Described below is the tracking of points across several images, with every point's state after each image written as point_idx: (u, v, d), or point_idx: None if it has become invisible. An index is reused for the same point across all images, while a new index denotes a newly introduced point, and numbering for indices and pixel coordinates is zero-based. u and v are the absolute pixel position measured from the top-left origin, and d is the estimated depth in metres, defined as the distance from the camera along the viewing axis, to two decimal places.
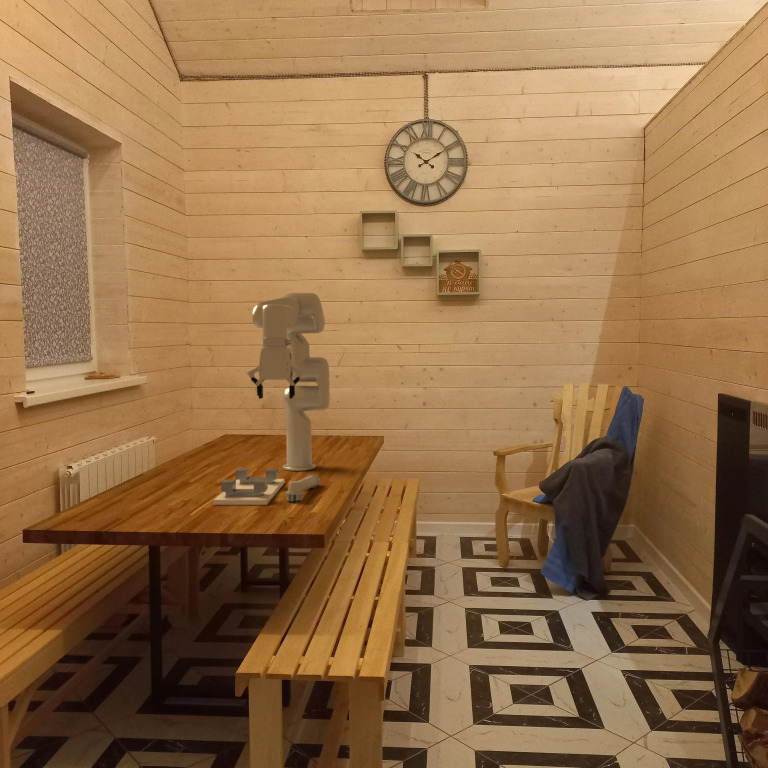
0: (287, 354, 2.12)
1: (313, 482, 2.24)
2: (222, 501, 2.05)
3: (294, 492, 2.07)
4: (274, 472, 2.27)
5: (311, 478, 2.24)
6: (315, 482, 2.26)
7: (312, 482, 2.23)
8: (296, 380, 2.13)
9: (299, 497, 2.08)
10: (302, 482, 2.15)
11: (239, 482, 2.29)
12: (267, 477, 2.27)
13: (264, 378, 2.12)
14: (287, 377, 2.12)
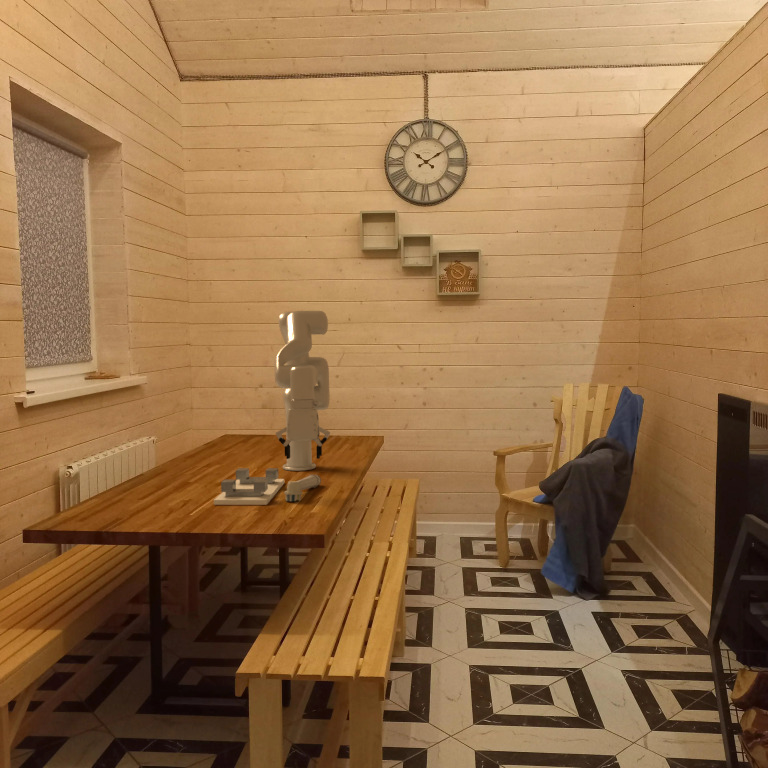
0: (314, 415, 2.16)
1: (313, 482, 2.24)
2: (222, 501, 2.05)
3: (292, 492, 2.08)
4: (274, 472, 2.27)
5: (311, 478, 2.24)
6: (315, 482, 2.26)
7: (312, 482, 2.23)
8: (323, 440, 2.17)
9: (298, 497, 2.08)
10: (301, 482, 2.15)
11: (239, 482, 2.29)
12: (267, 477, 2.27)
13: (292, 439, 2.16)
14: (314, 438, 2.16)
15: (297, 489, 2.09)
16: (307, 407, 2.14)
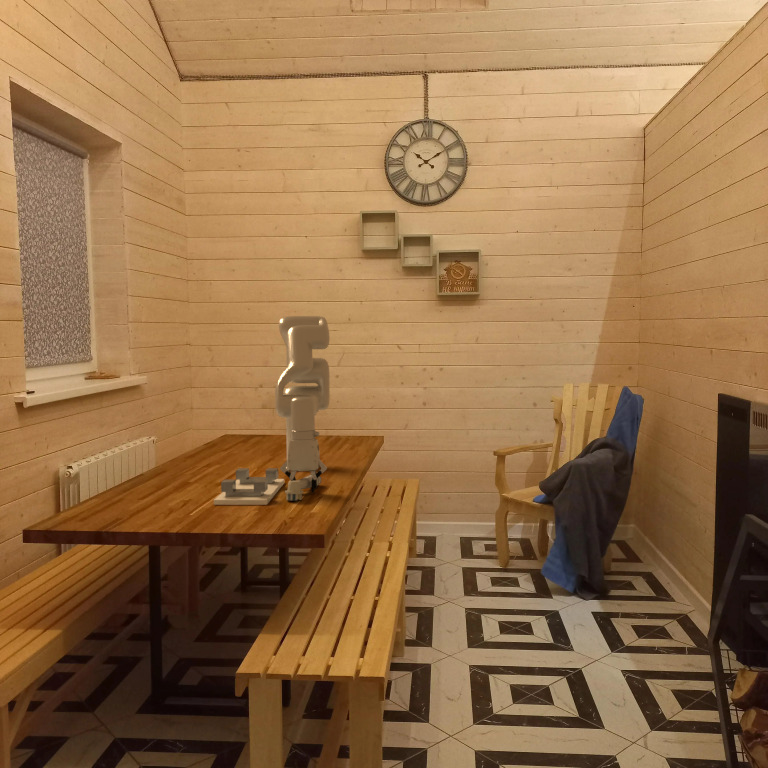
0: (315, 446, 2.16)
1: None
2: (222, 501, 2.05)
3: (293, 491, 2.07)
4: (274, 472, 2.27)
5: (312, 477, 2.24)
6: None
7: None
8: (318, 474, 2.18)
9: (298, 496, 2.08)
10: (302, 481, 2.15)
11: (239, 482, 2.29)
12: (267, 477, 2.27)
13: (292, 469, 2.17)
14: (315, 468, 2.17)
15: (298, 488, 2.09)
16: (307, 438, 2.15)
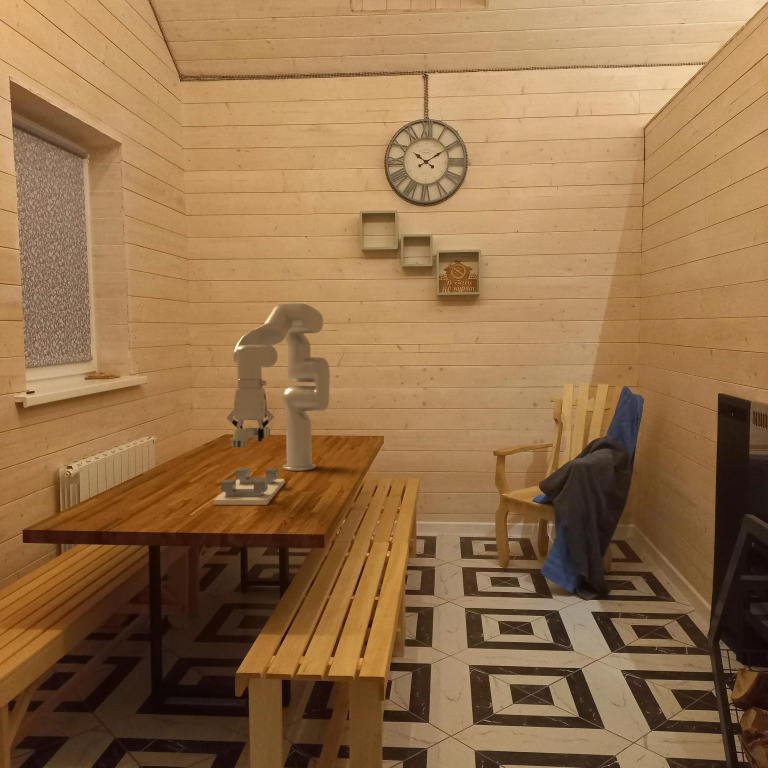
0: (261, 395, 2.16)
1: None
2: (222, 501, 2.05)
3: (238, 438, 2.07)
4: (274, 472, 2.27)
5: None
6: (264, 432, 2.25)
7: None
8: (265, 423, 2.18)
9: (244, 443, 2.08)
10: (248, 430, 2.14)
11: (239, 482, 2.29)
12: (267, 477, 2.27)
13: (239, 418, 2.17)
14: (261, 417, 2.16)
15: (243, 435, 2.08)
16: (254, 387, 2.15)
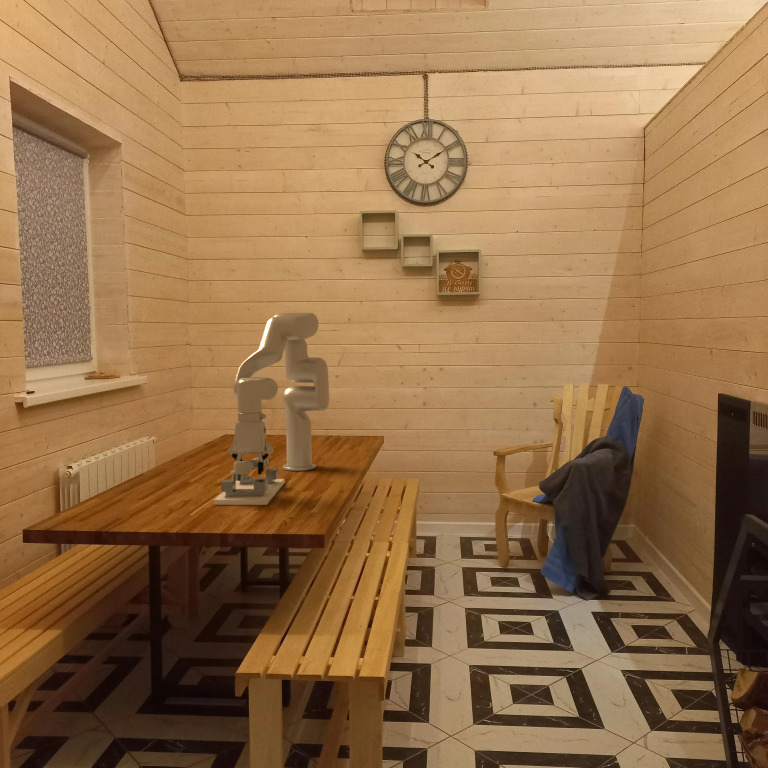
0: (261, 428, 2.16)
1: None
2: (222, 501, 2.05)
3: (239, 472, 2.08)
4: (274, 472, 2.27)
5: None
6: None
7: None
8: (265, 456, 2.18)
9: (244, 477, 2.08)
10: (248, 462, 2.15)
11: (239, 482, 2.29)
12: (267, 477, 2.27)
13: (239, 451, 2.17)
14: (261, 451, 2.17)
15: (243, 469, 2.09)
16: (253, 420, 2.15)
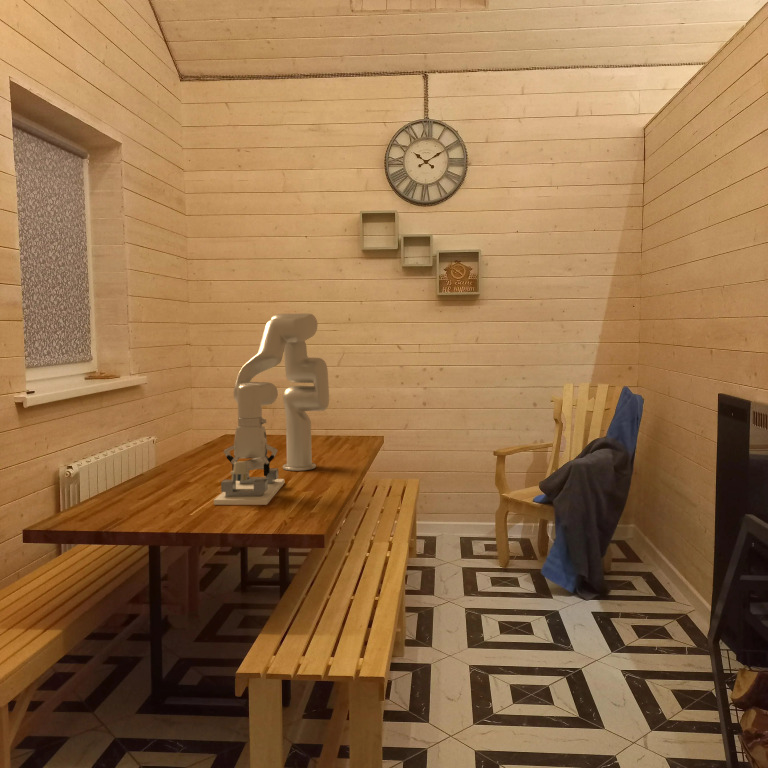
0: (261, 433, 2.17)
1: (261, 463, 2.24)
2: (222, 501, 2.05)
3: (239, 472, 2.08)
4: (274, 472, 2.27)
5: (259, 459, 2.24)
6: (263, 463, 2.26)
7: (260, 463, 2.23)
8: (270, 458, 2.18)
9: (244, 477, 2.08)
10: (248, 462, 2.15)
11: (239, 482, 2.29)
12: (267, 477, 2.27)
13: (239, 457, 2.17)
14: (261, 456, 2.17)
15: (243, 469, 2.09)
16: (254, 425, 2.15)
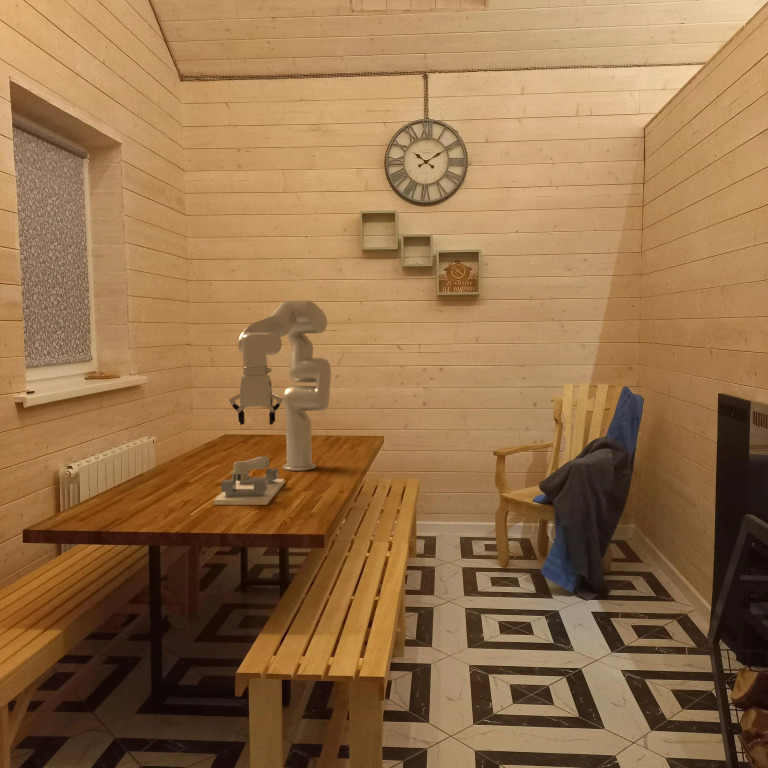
0: (267, 382, 2.19)
1: (261, 463, 2.24)
2: (222, 501, 2.05)
3: (239, 472, 2.08)
4: (274, 472, 2.27)
5: (259, 459, 2.24)
6: (263, 463, 2.26)
7: (260, 463, 2.23)
8: (276, 407, 2.21)
9: (244, 477, 2.08)
10: (248, 462, 2.15)
11: (239, 482, 2.29)
12: (267, 477, 2.27)
13: (245, 405, 2.20)
14: (267, 404, 2.20)
15: (243, 469, 2.09)
16: (259, 374, 2.18)
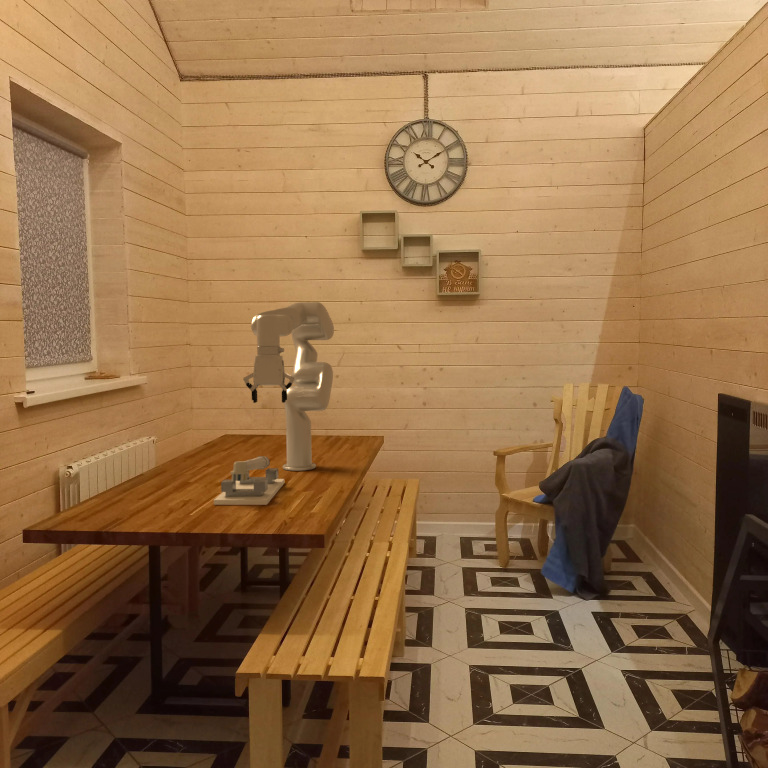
0: (280, 361, 2.27)
1: (261, 463, 2.24)
2: (222, 501, 2.05)
3: (239, 472, 2.08)
4: (274, 472, 2.27)
5: (259, 459, 2.24)
6: (263, 463, 2.26)
7: (260, 463, 2.23)
8: (288, 385, 2.29)
9: (244, 477, 2.08)
10: (248, 462, 2.15)
11: (239, 482, 2.29)
12: (267, 477, 2.27)
13: (258, 384, 2.28)
14: (280, 383, 2.27)
15: (243, 469, 2.09)
16: (272, 353, 2.26)
